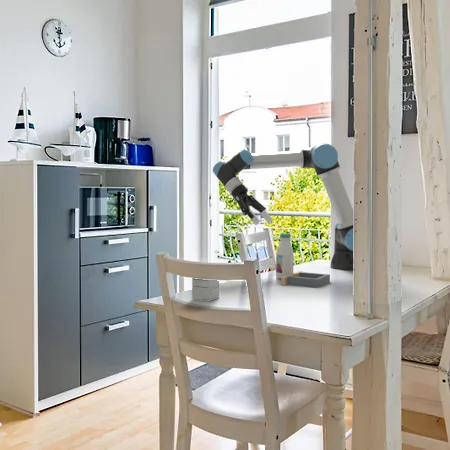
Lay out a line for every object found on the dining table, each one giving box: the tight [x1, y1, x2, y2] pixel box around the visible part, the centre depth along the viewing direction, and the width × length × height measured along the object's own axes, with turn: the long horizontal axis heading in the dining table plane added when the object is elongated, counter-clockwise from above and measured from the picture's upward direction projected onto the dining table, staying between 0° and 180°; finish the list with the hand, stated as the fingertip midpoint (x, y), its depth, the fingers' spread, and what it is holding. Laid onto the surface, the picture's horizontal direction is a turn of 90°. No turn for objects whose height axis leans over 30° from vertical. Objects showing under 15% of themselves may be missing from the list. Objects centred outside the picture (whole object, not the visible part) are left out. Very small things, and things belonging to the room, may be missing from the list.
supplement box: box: [191, 277, 220, 303], centre depth 201 cm, size 7×7×13 cm
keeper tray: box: [280, 270, 331, 288], centre depth 238 cm, size 20×15×3 cm
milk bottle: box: [275, 233, 295, 280], centre depth 249 cm, size 8×8×20 cm
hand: (264, 222), depth 255 cm, fingers open, 13 cm apart
